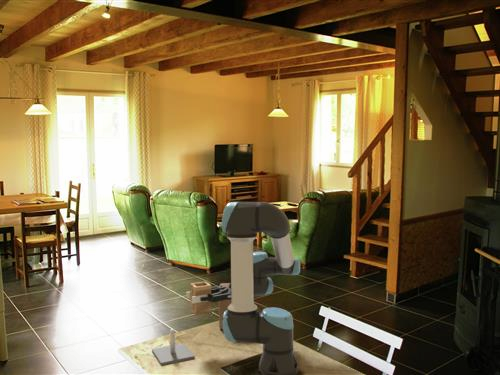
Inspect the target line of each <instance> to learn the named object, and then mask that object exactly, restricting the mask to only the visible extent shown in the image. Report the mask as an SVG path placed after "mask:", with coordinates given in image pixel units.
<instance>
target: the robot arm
mask: <svg viewBox="0 0 500 375" xmlns="http://www.w3.org/2000/svg"><path fill="white" fill-rule="evenodd" d="M221 230H222V232H223V233H226V238H227V239H228V240H229V241H230V270H231V271H230V281H231V282H229V283H230V284H229V287H222V286H221V285H220V284H219V285H217V286H211V295H210V294H209V293H208V296H207V295H200V296H193V297H192V303H200V302H206V301H209V302H210V301H211V302H212V303H217V302H218V303H219V301H223V300H228V299H231V304H230V305H229V306H228V310H227V311H225V312H224V314H223V329H222V330H223V334H224V337H225V338H226V340H227V341H229V342H233V343H237V344H242V343H243V344H258V345H259V344H261V345H262V352H261V356H260V359H259V363H258V372H259V371H260V372H261V373H262V374H264V375H298V373H299V362H298V360H297V357H296V354H295V351H294V321H293V320H294V318H293V315H292V313H291V312H289V311H288V310H286V309H283V308H280V307H274V306H273V307H266V308H263V310H262V311H261V312H260V311H258V306H257V304H256V303H254V302H255V301H254V297H260V296H262V297H263V296H267V295H269V294H272V293H273V291H274V283H273V279H272V278H271V277H269V276H268V275H279V276H280V275H281V276H283V275H284V276H298V275H299V274H300V273H301V260H300V258H299V257H296V256H295V257H294V251H293V247H292V241H291V237H290V231H291V223H290V220H289V219H288V217H287V215H286V214H285V212H284V211H283V210H282V209H281V208H279V207H278V206H276V205H275V204H273V203H271V202H266V201H261V202H260V201H232V202H228V203H227V204H226V205H225V207H224V209H223V213H222V217H221ZM259 233H260V234H261V233H265V234H267V236H268V237H270V241H271V244H272V248H273V251H274V256H268V253H267V252H266V251H254V240H255V241H256V239H257V238H258V234H259ZM186 299H191V294H190V291H186Z"/></svg>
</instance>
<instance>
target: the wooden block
mask: <svg viewBox="0 0 500 375" xmlns="http://www.w3.org/2000/svg"><path fill="white" fill-rule="evenodd" d="M230 283H231V282H228V283H227V282H223V283H220V284H219V286H220V285H221V286H222V287H229V284H230ZM230 304H231V299H228V300H223V301H218V327H219V330H223V314H224V312H225V311H227V310H228V306H229V305H230Z"/></svg>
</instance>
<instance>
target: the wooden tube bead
mask: <svg viewBox="0 0 500 375" xmlns="http://www.w3.org/2000/svg"><path fill="white" fill-rule="evenodd" d="M211 287H212V285H211V284H210V283H209V282H207V281H198V282H191V283H189V288H190V289H189V290H190V294H191V298H190V312H191V313H192V314H194V315H195V316H196V317H197V316H202V315H209V314H212V313H213V307H212V306H213V304H212V302H211V301H210V302H209V301H206V302H200V303H192V297H193V296H200V295H207V296H208V293H209V294H210V295H211Z"/></svg>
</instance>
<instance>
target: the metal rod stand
mask: <svg viewBox="0 0 500 375" xmlns="http://www.w3.org/2000/svg"><path fill="white" fill-rule="evenodd" d="M175 332H176V331H175V329H173V328H171V329H170V330H169V345H167V346H166V345H165V346H161V347H155V348H151V352H152V354H153V353H154V354H153V355H154V356H155V359H156V360H157V361H158V363H159V364H160V366H165V365H169V364H173V363H175V364H176V363H179V362H184V361H187V360H192V359H196V358H195V357H196V355H195V354H194V353H193V352H192V351H191V350H190V349H189V347H188V346H187V345H186V344H185V343H184V342H181V343H177V344H176V333H175Z"/></svg>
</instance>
